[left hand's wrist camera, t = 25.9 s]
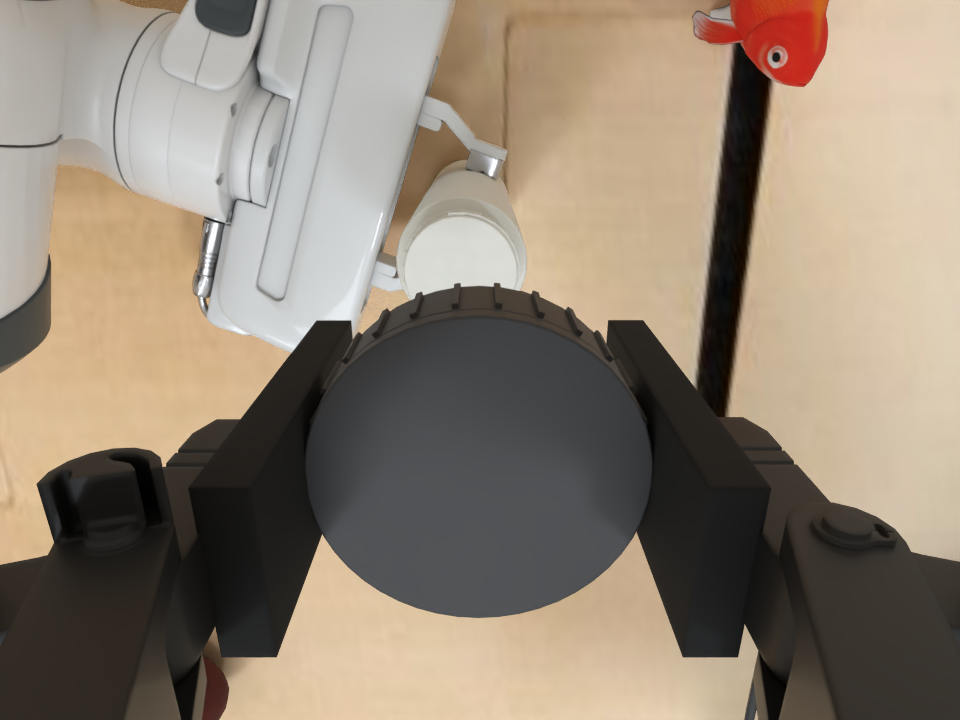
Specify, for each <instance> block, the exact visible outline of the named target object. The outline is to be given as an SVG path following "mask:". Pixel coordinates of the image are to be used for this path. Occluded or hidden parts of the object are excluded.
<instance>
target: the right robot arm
mask: <svg viewBox="0 0 960 720" xmlns="http://www.w3.org/2000/svg"><path fill="white" fill-rule="evenodd" d="M455 5H456V0H188V2H187V3H186V5H185V7H184V9H183V10H182V12H181V14H179V13H177V12H174V11H170V10H166V9H159V8H143V7H137V6H133V5H130V4H127V3H125V2H122V1H120V0H0V373H1V372H3V371H5V370H6V369H8V368H9V367H11V366H12V365H14V364H15V363H17V362H18V361H20V360H21V359H22V358H24V357H25V356H26V355H28V354H29V353H30V352H31V351H33V350H34V349H35V348H36V347H37V346H38V345H39V344H40V343H41V342H42V341H43V340H44V339H45V337H46V336H47V334H48V332H49V330H50V326H51V261H50V255H49V245H50V235H51V226H52V216H53V206H54V196H55V187H56V177H57V167H58V166H71V167H83V168H87V169H90V170H93V171H96V172H99V173H101V174H103V175H105V176H106V177H108V178H110V179H111V180H112V181H114V182H115V183H117V184H118V185H120V186H121V187H123V188H125V189H127V190H129V191H132V192H134V193H137V194H140V195H143V196H146V197H149V198H152V199H155V200H157V201H160V202H163V203H166V204H169V205H172V206H175V207H178V208H181V209H184V210H188V211H190V212H193V213H196V214H199V215H202V216H205V217H204V222H203V229H202V234H201V239H200V249H199V253H200V254H199V260H198V266H197V270H195V273H194V276H193V283H192V290H193V294H194V295H196V296H198V302H199V306H200V308H201V310H202V312H203V314H204V315H205V316H206V318H207V320H208V321H209V322H210V323H211V324H213V325H215V326H217V327H219V328H222V329H225V330H228V331H231V332H235V333H238V334H241V335H249V336H253V335H254V336H255V337H257V338H259V339H261V340H264V341H266V342H268V343H270V344H272V345H274V346H276V347H278V348H281V349H283V350H285V351H287V352H290V353H292V352H293V350H294V349H295V348H296V346H297V345H298V344H299V343H300V341H301V340H302V339H303V337H304V336H305V335H306V333H307V332H308V331H309V330H310V328H311V327H312V326H313V324H314V323H315V322H316V320H351V323H352V336H353V338H354V337H355V335H356V334H357V333H358V332H359V329H360V325H361V322H362V318H363V315H364V312H365V308H366V305H367V302H368V298H369V295H370V292H371V288H372V286H374V287H377V288H380V289H383V290H386V291H389V292H392V291H397V290H402V289H403V287H402V285H401V283H400V280H399V277H398V272H397V264H396V257H395V256H392V255H389V254H386V253H383V252H382V251H383V248H384V245H385V241H386V238H387V234H388V231H389V228H390V224H391V221H392V218H393V214H394V211H395V208H396V204H397V201H398V197H399V194H400V191H401V187H402V184H403V181H404V177H405V174H406V171H407V167H408V164H409V160H410V157H411V154H412V150H413V147H414V144H415V140H416V137H417V134H418V130H419V127H420V126H422V127H425V128H428V129H431V130H433V131H436V132H437V131H439V130H441V129H442V127H443V124H444V122H445V123H446V124H447V125H448V127H449V128H450V129H451V130H452V131H453V133H454V134H455V135H456V136H457V137H458V138H459V140H460V141H461V142H462V143H463V144H464V146H465V147H466V148H467V149H468V150H469V152H470V154H469V157H468V160H467V163H466V167H465V168H467V169H469V170H472V171H475V172H481V171H483V172H484V173H485V175H487V176H489V177H491V178H494V179H498V178H499V175H500V172H501V170H502V167H503V164H504V162H505V159H506V156H507V153H508V150H506V149H504V148H502V147H499V146H497V145H494V144H491V143H488V142H486V141H483V140H480V139H478V138H475V134H474V133H473V131H472V130H471V129H470V128H469V127H468V125H467V124H466V123H465V122H464V120H463V119H462V118H461V117H460V116H459V114H458V113H457V112H456V111H455V109H454V108H453V107H452V106H451V105H450V104H448V103H446V102H443V101H441V100H438V99H435V98H433V97H430V96H429V93H430V90H431V87H432V83H433V80H434V76H435V73H436V70H437V66H438V63H439V60H440V56H441V53H442V50H443V46H444V43H445V40H446V36H447V33H448V29H449V26H450V23H451V19H452V16H453V12H454V9H455ZM470 150H471V151H470ZM209 297H210V301H209V306H208V305H207V302H206V298H209Z"/></svg>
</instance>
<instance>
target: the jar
mask: <svg viewBox="0 0 960 720" xmlns="http://www.w3.org/2000/svg"><path fill="white" fill-rule="evenodd" d="M466 163H467V160H459V161H456V162H453V163H451V164H449V165H448V166H446V167H445V168H443V169H442V170H441V171H440V172H439V173H438V175H437V176H436V177H435V179H434V181H433V182H432V184H431V186H430V187H429V189H428V191H427V192H426V194H425V196H424V197H423V199H422V201H421V202H420V204H419V206H418V207H417V209H416V211H415V212H414V214H413V216H412V217H411V219H410V221H409V222H408V224H407V225H406V227H405V229H404V231H403V233H402V235H401V238H400V240H399V244H398V248H397V256H396V264H397V272H398V277H399V280H400V283H401V285H402V287H403V289H404V291H405V293H406V295H407V296H408V298H409V299H410V300H413V299H415V296H416V293H419V292H422V293H423V295H426V294H429V293H432V292H435V291H439V290H445V289H450V288H454V284H456V283H461V287H466V286H491V287H494V283H500V285H501V287H503V288H508V289H513V290H518V291H520V289H521V287H522V285H523V282H524V279H525V275H526V269H527V254H526V248H525V244H524V240H523V237H522V234H521V231H520V228H519V225H518V222H517V219H516V216H515V213H514V210H513V207H512V204H511V202H510V199H509V196H508V193H507V190H506V187H505V184H504V182H503V180H502V178H501V177H500V175H499V178H498V179H494V178H491V177H489V176H487V175H485V173H484V172H483V171H481V172H475V171H472V170H469V169H467V168H465V167H466Z"/></svg>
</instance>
